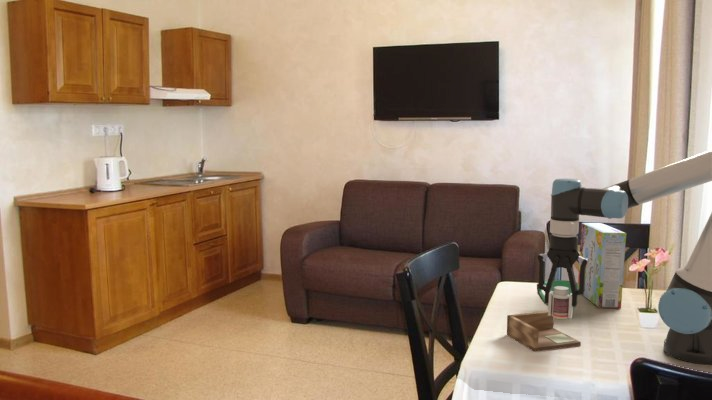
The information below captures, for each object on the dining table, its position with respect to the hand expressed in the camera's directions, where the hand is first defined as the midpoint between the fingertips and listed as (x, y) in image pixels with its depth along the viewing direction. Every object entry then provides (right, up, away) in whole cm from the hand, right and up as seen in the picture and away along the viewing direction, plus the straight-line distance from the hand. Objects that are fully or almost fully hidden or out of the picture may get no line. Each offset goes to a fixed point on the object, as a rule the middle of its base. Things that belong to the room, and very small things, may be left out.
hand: (560, 315), depth 180 cm
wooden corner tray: (-4, -7, +3) cm, 9 cm away
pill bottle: (0, 0, 0) cm, 1 cm away
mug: (+8, -4, +28) cm, 30 cm away
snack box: (+27, -2, +43) cm, 51 cm away
